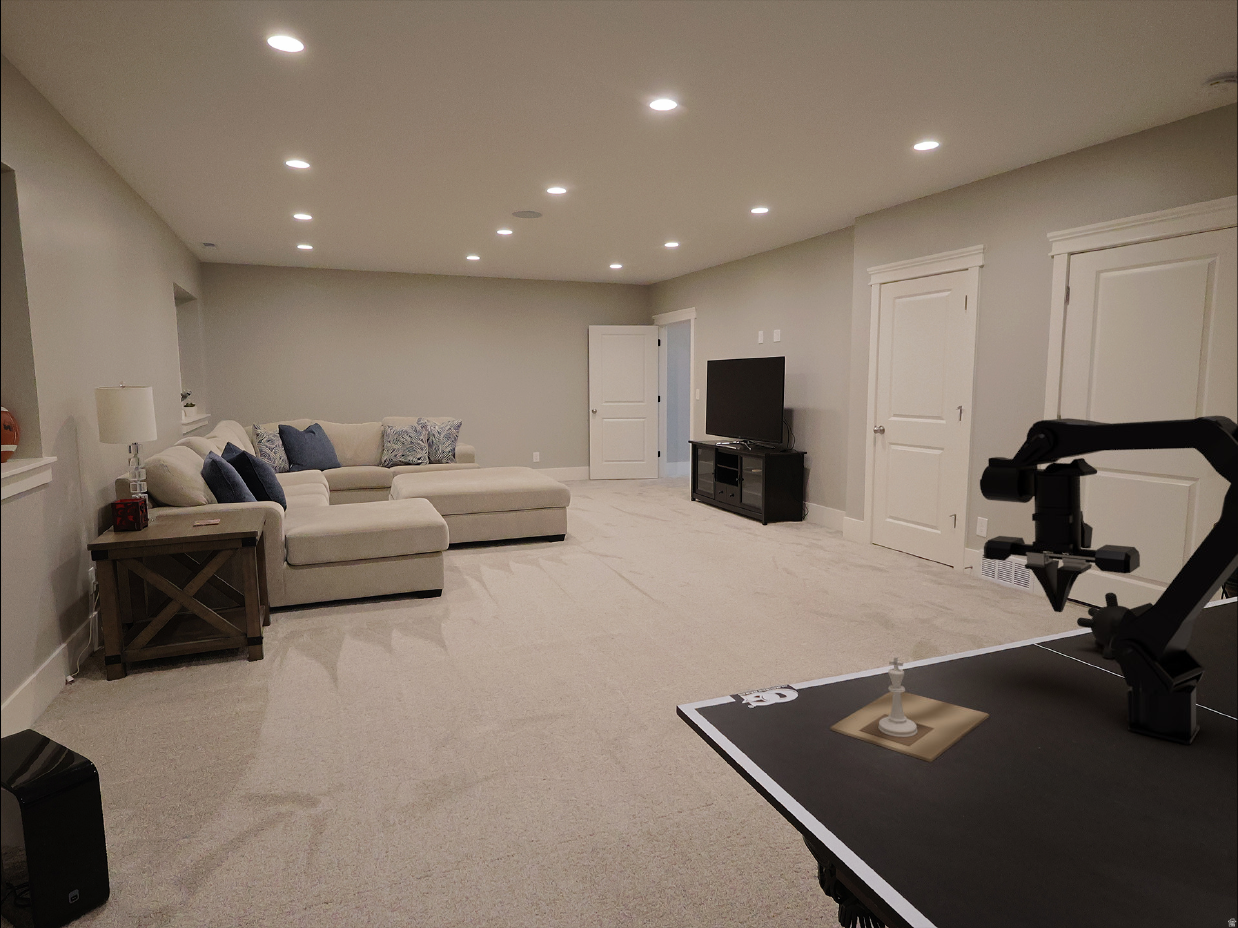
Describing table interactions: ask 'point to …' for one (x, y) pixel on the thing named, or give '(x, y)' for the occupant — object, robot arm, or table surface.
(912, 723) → the chess piece
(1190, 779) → the table surface
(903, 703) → the board
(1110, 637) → the knobbed dark ball
